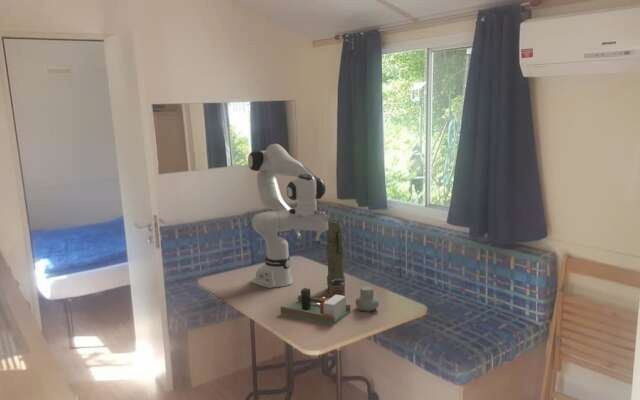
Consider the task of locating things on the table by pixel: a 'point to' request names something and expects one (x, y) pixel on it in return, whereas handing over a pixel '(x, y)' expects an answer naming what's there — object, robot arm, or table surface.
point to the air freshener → (366, 299)
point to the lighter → (336, 288)
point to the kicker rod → (307, 302)
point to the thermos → (335, 252)
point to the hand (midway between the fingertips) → (308, 239)
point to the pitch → (332, 310)
